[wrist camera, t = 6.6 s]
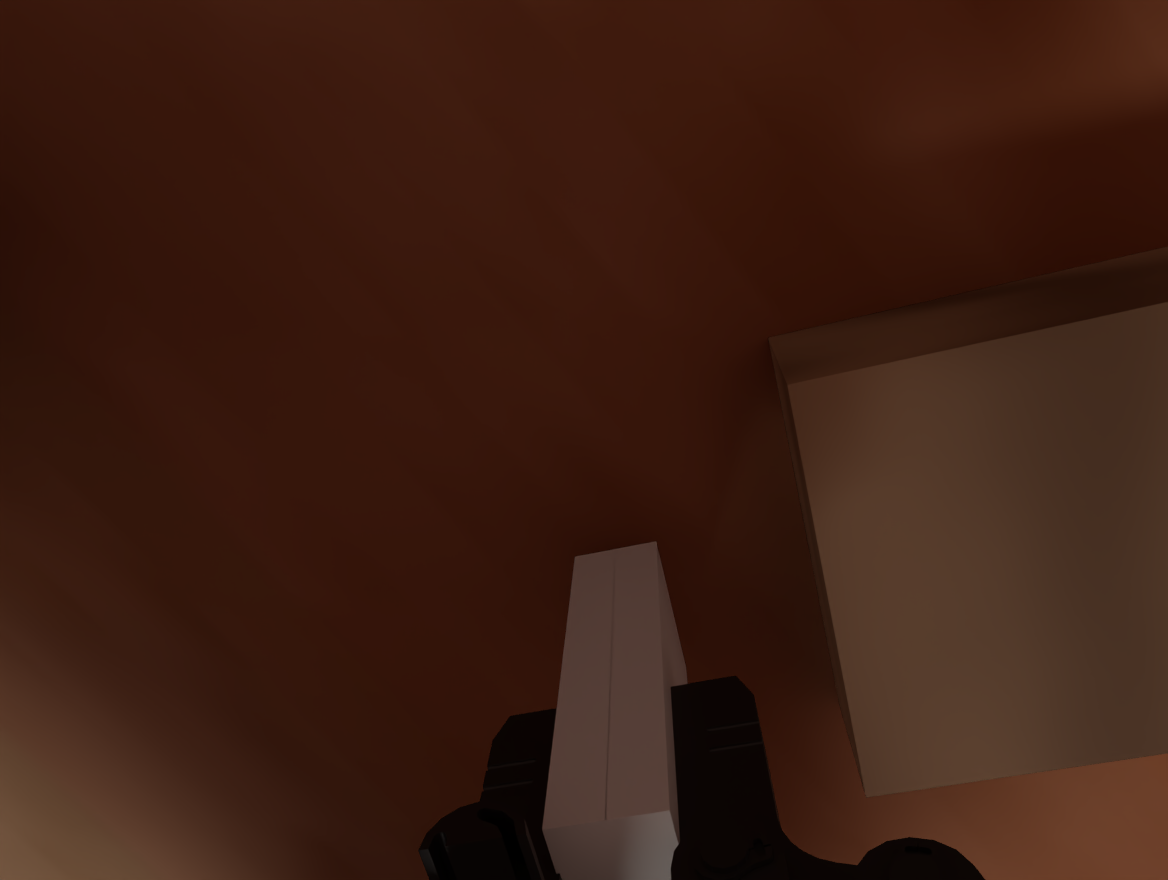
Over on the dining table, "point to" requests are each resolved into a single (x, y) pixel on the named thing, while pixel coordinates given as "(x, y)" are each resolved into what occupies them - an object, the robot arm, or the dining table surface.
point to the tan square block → (991, 522)
